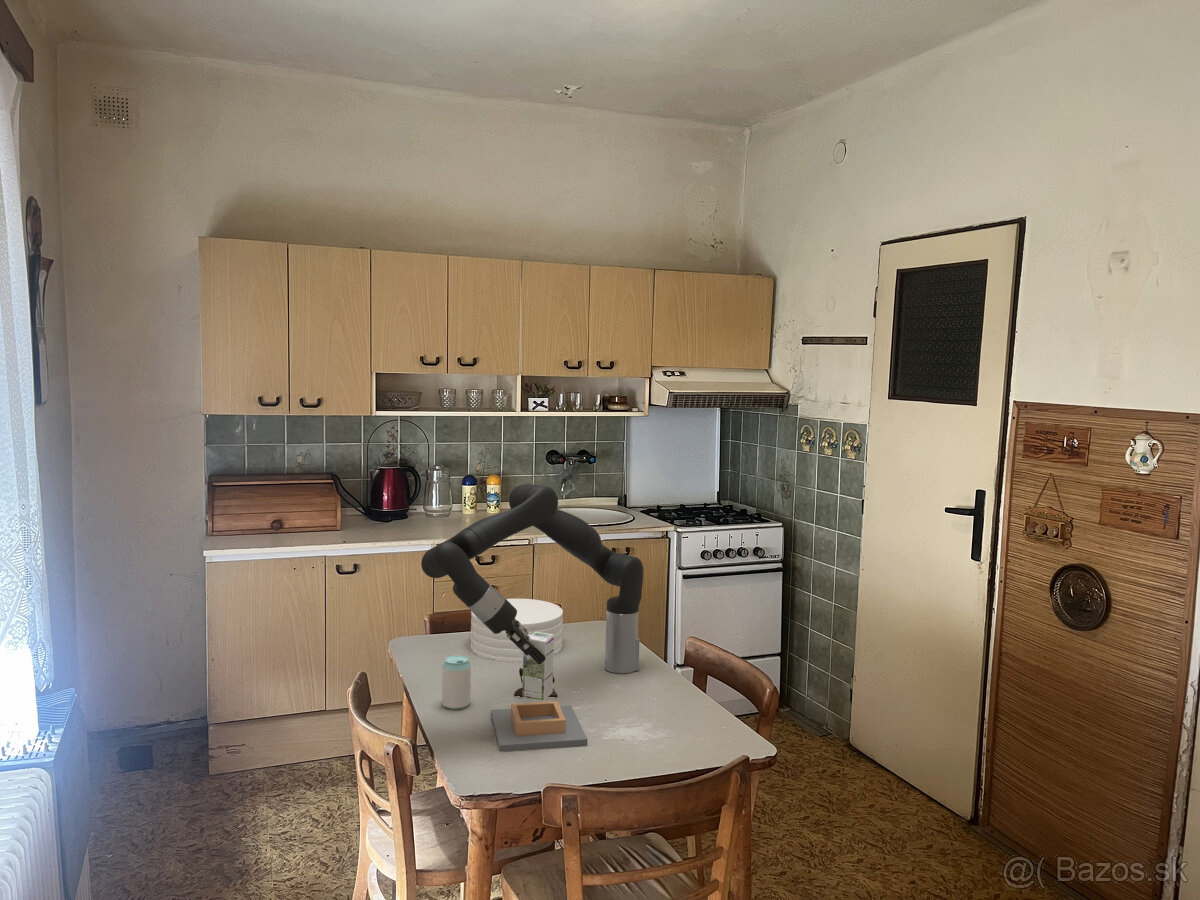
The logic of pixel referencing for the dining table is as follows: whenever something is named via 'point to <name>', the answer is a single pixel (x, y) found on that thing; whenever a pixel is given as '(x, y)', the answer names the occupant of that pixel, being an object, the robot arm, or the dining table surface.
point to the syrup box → (538, 668)
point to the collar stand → (537, 726)
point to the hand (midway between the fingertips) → (540, 655)
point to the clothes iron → (519, 691)
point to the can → (456, 682)
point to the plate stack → (531, 617)
